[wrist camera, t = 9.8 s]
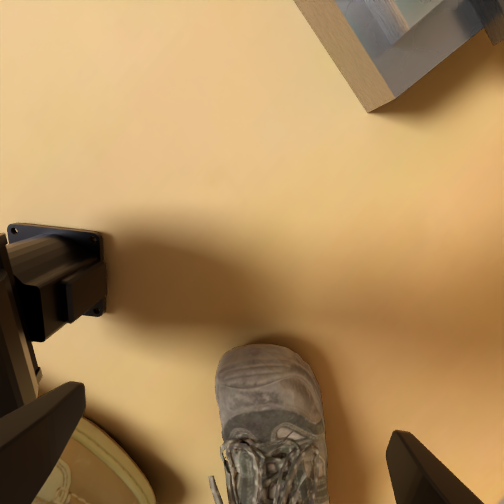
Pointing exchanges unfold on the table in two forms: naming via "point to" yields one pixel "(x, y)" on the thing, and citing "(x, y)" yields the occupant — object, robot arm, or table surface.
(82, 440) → the boat shoe
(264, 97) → the table surface
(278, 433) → the hiking shoe
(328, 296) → the table surface
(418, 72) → the block
